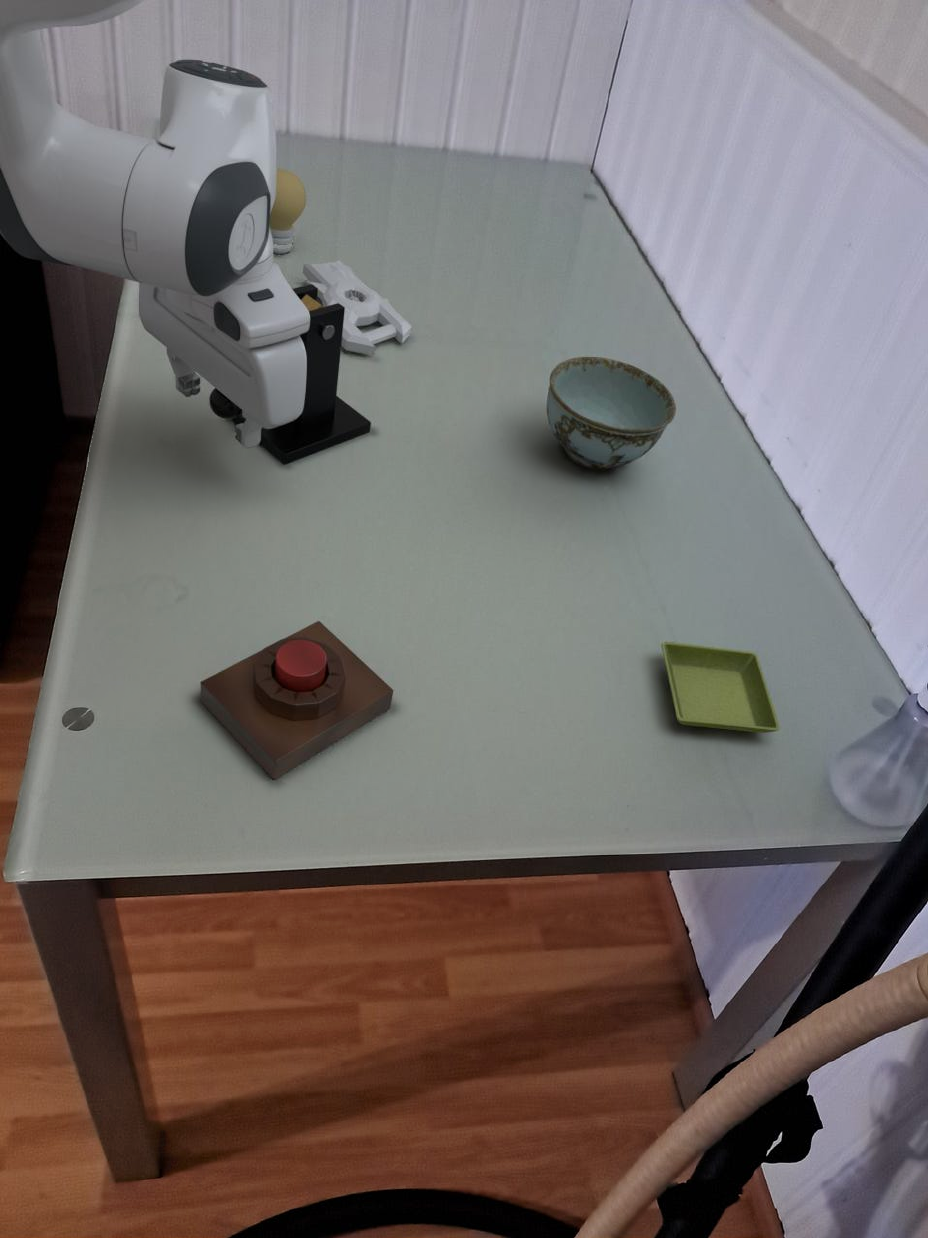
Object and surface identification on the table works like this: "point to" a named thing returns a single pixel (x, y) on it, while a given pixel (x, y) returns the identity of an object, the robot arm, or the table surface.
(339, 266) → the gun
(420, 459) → the table surface
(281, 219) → the light bulb
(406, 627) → the table surface
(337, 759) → the table surface
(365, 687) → the button block
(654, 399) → the bowl
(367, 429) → the bracket
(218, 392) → the lever
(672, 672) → the green square tray
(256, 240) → the robot arm
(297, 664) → the button
